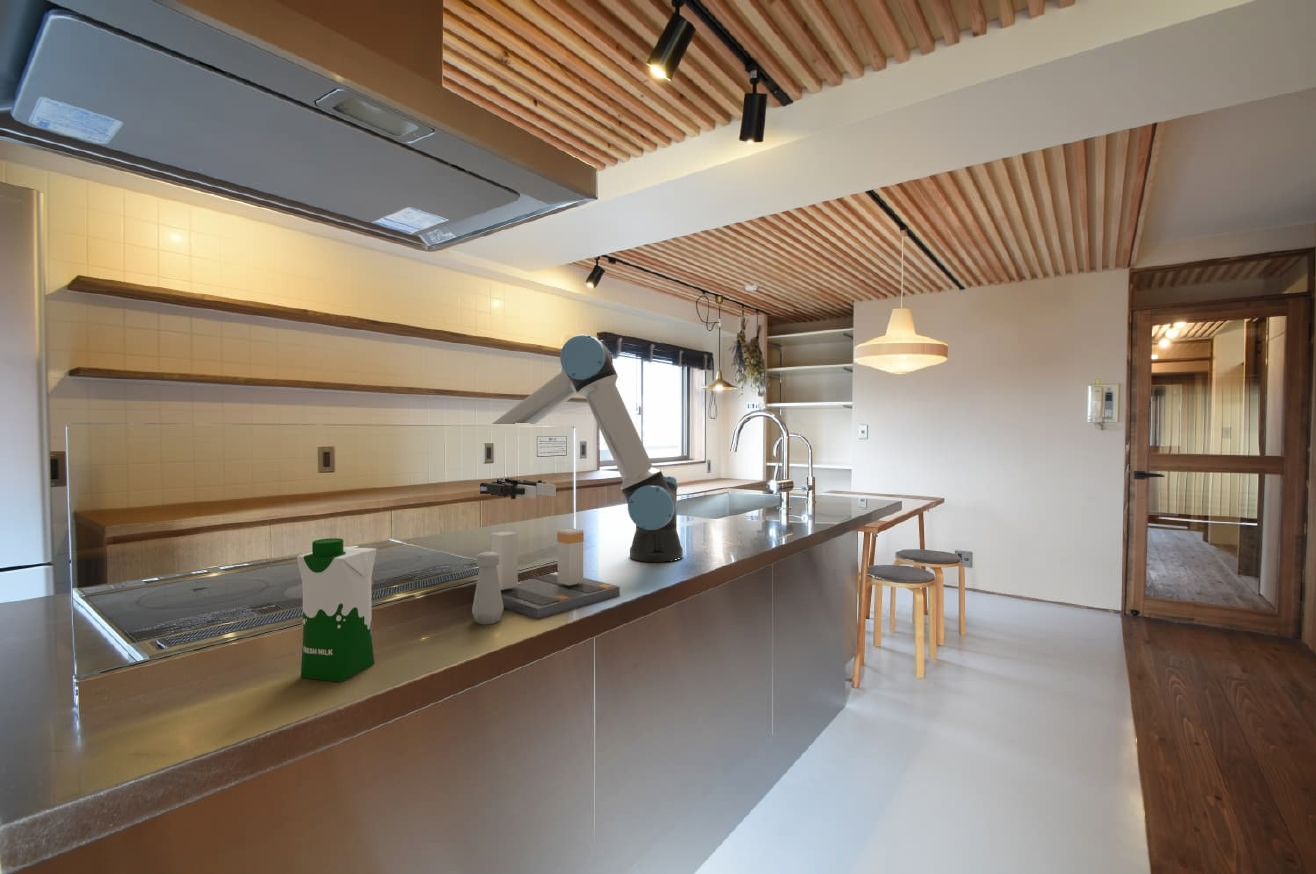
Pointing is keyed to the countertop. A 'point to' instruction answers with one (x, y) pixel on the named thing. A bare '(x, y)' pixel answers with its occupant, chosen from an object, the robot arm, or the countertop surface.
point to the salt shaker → (487, 590)
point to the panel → (554, 595)
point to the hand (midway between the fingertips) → (544, 491)
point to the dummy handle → (506, 558)
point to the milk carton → (336, 610)
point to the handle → (570, 556)
